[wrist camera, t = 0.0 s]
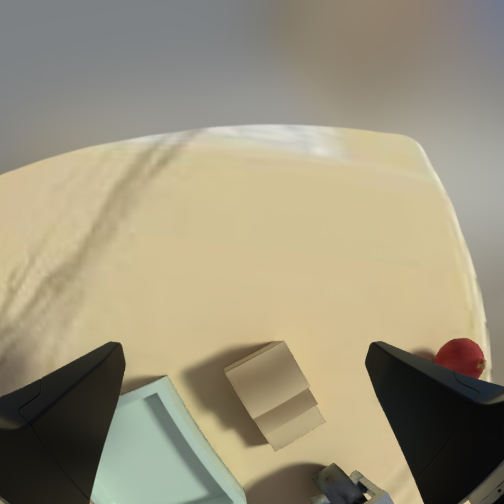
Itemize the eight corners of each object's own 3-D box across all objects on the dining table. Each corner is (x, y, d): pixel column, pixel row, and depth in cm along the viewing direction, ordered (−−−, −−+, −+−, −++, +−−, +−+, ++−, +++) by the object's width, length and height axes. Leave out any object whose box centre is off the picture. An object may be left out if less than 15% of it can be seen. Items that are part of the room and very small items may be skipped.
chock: (316, 415, 22) (333, 426, 18) (270, 442, 21) (279, 459, 17) (273, 341, 24) (284, 340, 20) (223, 367, 23) (224, 373, 19)
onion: (452, 340, 25) (502, 332, 18) (449, 386, 23) (498, 388, 16) (420, 341, 25) (473, 335, 17) (415, 392, 23) (467, 398, 15)
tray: (243, 489, 18) (247, 504, 16) (130, 521, 15) (123, 535, 12) (167, 375, 22) (160, 379, 19) (58, 418, 18) (43, 424, 15)
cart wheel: (360, 485, 19) (401, 518, 11) (320, 510, 18) (351, 552, 10) (335, 446, 21) (379, 478, 13) (291, 473, 19) (319, 517, 11)
